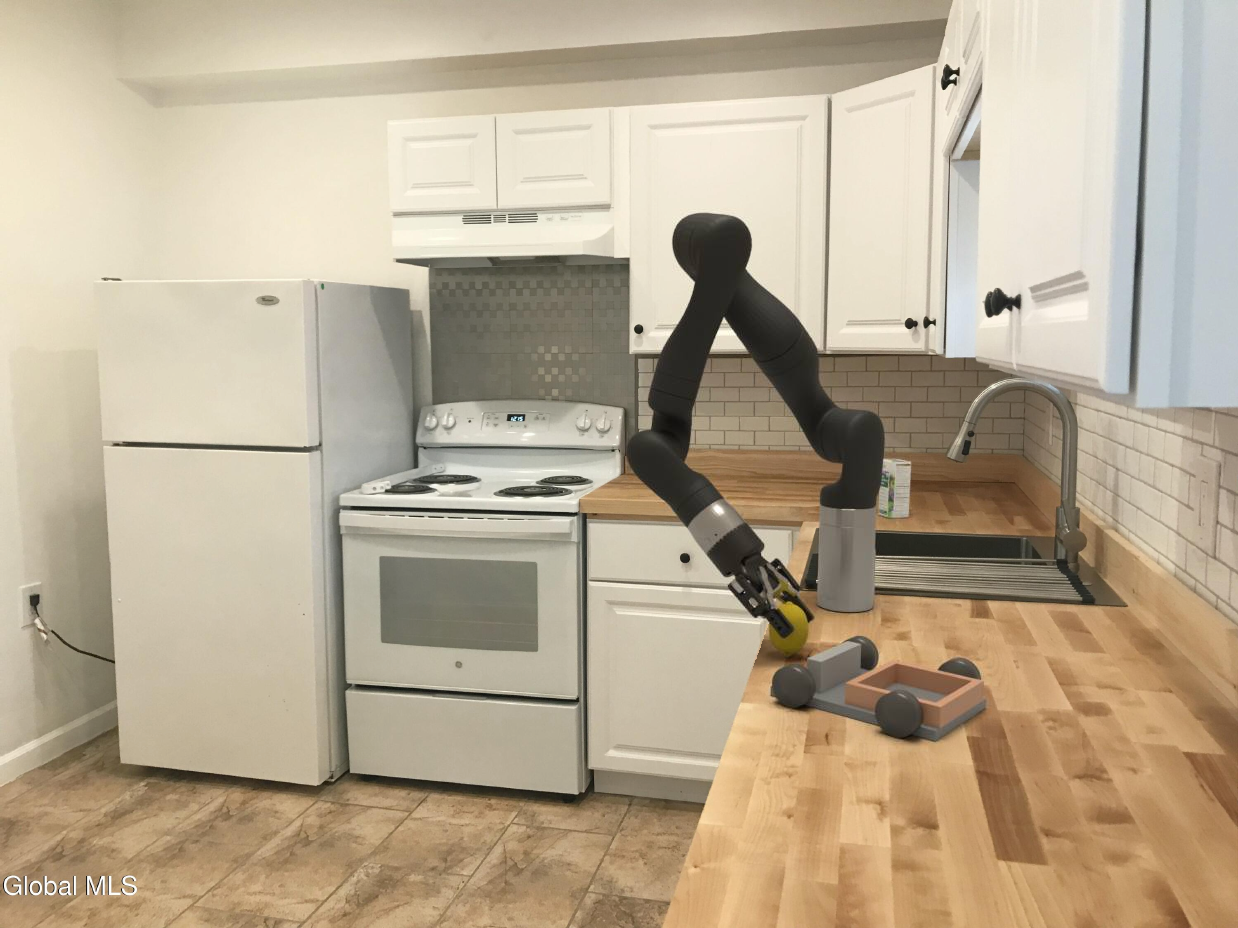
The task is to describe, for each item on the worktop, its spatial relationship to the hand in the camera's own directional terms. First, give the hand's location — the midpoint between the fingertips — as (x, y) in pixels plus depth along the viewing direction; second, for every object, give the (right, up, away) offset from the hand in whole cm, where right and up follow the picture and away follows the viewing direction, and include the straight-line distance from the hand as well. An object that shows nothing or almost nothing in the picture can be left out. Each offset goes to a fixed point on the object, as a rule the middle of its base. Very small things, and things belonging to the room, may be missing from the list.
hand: (799, 628), depth 143 cm
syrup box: (+44, +10, +115) cm, 124 cm away
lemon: (-1, -4, +1) cm, 5 cm away
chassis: (+7, -6, -16) cm, 19 cm away
